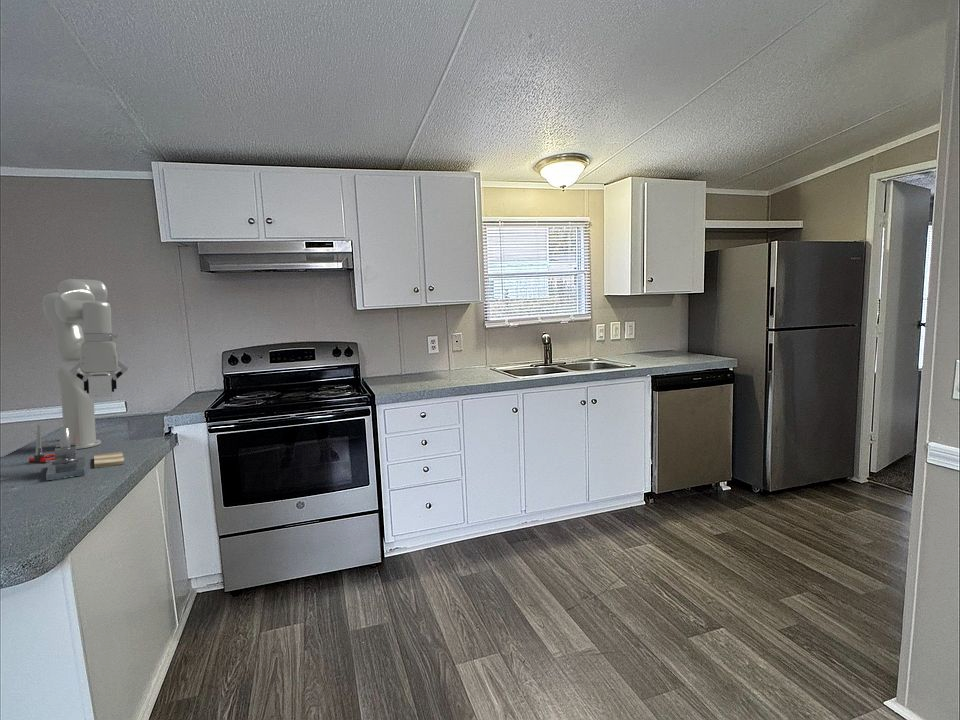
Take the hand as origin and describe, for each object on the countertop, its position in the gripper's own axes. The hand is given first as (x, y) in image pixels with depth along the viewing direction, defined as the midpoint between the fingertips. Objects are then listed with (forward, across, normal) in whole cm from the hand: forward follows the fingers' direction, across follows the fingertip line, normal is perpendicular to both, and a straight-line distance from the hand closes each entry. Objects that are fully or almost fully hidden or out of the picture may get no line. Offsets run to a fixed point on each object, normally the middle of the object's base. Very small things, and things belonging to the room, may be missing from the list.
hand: (100, 391), depth 168 cm
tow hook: (+25, +15, -15) cm, 33 cm away
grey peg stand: (+24, +10, +6) cm, 27 cm away
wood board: (+24, -1, 0) cm, 24 cm away
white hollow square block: (+1, 0, 0) cm, 1 cm away
